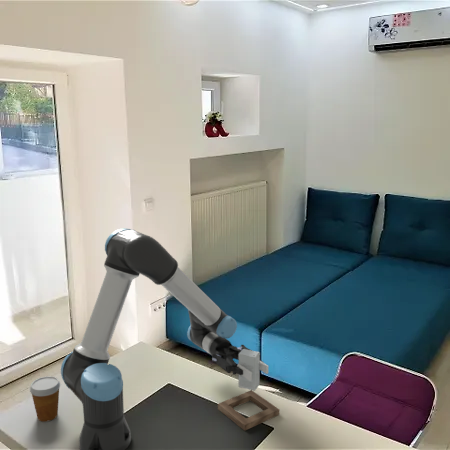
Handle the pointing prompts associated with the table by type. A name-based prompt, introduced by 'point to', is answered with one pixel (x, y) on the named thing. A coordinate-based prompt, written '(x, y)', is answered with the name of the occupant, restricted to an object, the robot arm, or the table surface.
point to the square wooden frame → (254, 420)
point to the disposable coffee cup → (46, 397)
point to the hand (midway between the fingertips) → (259, 373)
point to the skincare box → (249, 368)
